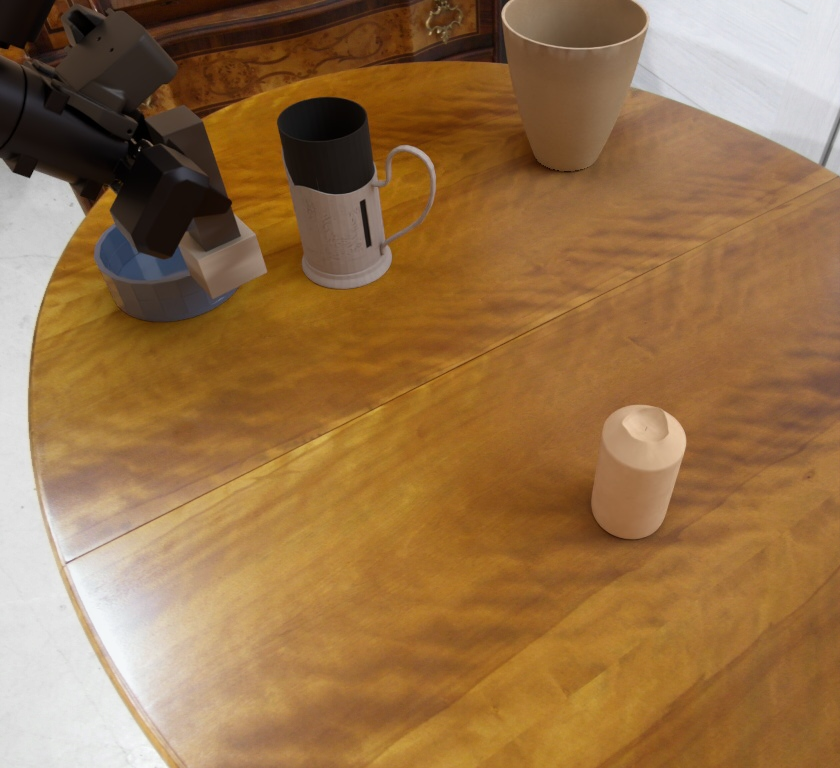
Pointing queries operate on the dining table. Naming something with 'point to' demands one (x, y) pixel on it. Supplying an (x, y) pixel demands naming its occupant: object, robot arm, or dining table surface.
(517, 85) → the plant pot
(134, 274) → the bowl
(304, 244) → the glass holder
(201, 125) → the dark post on base
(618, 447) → the candle
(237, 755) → the dining table surface
